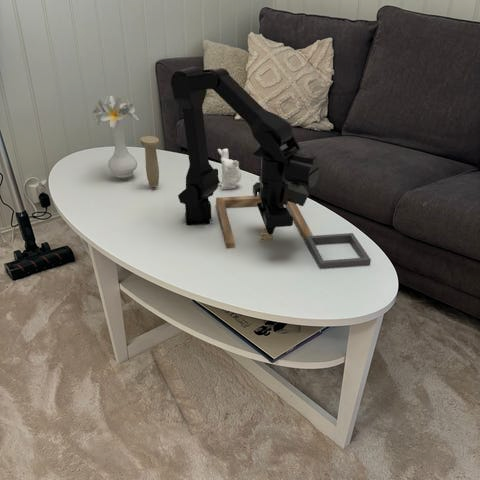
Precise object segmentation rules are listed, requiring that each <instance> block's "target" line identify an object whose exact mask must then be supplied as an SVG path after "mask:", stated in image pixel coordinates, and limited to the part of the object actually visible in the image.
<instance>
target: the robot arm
mask: <svg viewBox="0 0 480 480" xmlns="http://www.w3.org/2000/svg"><path fill="white" fill-rule="evenodd" d="M170 88H171V92H172V95H173V99H174V100H175V101H176V103H177V104H178V106H179V107H180V108H181V112H182V117H183V118H182V119H183V125H184V126H183V127H184V133H185V141H186V149H187V155H188V160H189V161H188V162H189V167H188V170H187V173H186V175H185V189H183V190H182V192H180V193H179V194H178V195H177V197H178V200H179V203H180V204H182V205H184V208H185V212H184V215H185V216H184V217H185V225H186V226H196V225H197V226H198V225H199V226H200V225H210V224H211V219H212V203H211V201H210V200H209V198H210V197H212V196H214V193H215V192H216V190H218V188H219V185H218V184H219V183H220V182H221V181H220V179H219V170H218V168H214V167H213V166H212V165H211V164H210V161H209V154H208V153H209V150H208V145H207V144H208V143H207V135H206V127H205V121H204V120H205V119H204V111H203V106H204V102H205V99H206V96H207V90H212V91H214V92H215V94H217V95H218V96H219V98H221V99H222V100H223V101H224V102H225V103H226V104H227V105H228V106H229V107H230V108H231V109H232V110H233V111H234V112H235V113H236V114H237V115H238V116H239V117H240V118H241V119H242V120H243V121H244V122H245V123H246V124H247V125H248V127H249V128H250V131H251V134H252V137H253V138H254V140H255V141H256V143H257V144H258V145H259V147H258V149H257V150H256V151H253V153H252V155H253V156H255V157H259V158H261V167H260V175H259V177H258V181H257V182H255V183H253V186H252V194H253V196H254V197H257V195H258V196H259V199H260V203H257V206H256V207H257V209H258V211H259V214H260V216H261V219H262V221H263V223H264V227H265V228H266V230H267V232H268V233H267V235H269V234H271V235H273V234H274V231H275V229H276V228H282V227H284V228H285V227H292V226H293V225H294V222H293V216H292V214H291V212H290V211H289V210H288V209H287V208H286V206H285V204H288V201H289V202H292V203H295V204H296V205H298V206H299V207H304V206H305V203H306V202H307V199H308V197H309V195H310V193H309V191H308V190H307V189H306V187H308V188H314V186H315V185H316V183H317V182H318V180H319V176H320V172H321V170H320V169H321V168H320V163H319V161H317V159H318V157H317V156H316V155H314V154H304V153H299V152H301V147H300V145H299V144H298V142H297V139H296V138H295V136H294V134H293V128H292V125H291V124H290V123H289V122H288V121H286V119H284V118H282V117H281V116H279V115H278V114H276V113H274V112H272V111H271V112H270V111H269V110H267V109H265V108H264V107H263V106H262V105H261V104H259V103H258V102H257V100H256V99H254V97H252V96H251V94H250V93H248V92H247V91H246V90H245V89H244V88H243V87H242V86H241V85H240V84H239V83H238V82H237V81H236V80H235V79H234V78H233V77H232V76H231V75H230V72H229V71H228V70H227V69H226V68H223V67H222V68H215V69H214V68H209V69H202V68H200V67H199V66H191V67H187V68H184V69H180V70H175V72H174V73H173V74H172V76H170ZM284 146H287V147H286V148H284V149H283V150H282V149H281V148H283V147H284ZM304 186H305V187H304Z"/></svg>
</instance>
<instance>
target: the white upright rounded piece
mask: <svg viewBox="0 0 480 480" xmlns="http://www.w3.org/2000/svg"><path fill="white" fill-rule="evenodd" d="M217 152H218V153H219V155H220V156H221V157H220V161H221V181H220V183H219V184H218V186H221V187H222V189H223V190H228V189H230V190H231V189H236V188H237V185H236V184H239V183H240V182H241V179H242V171H241V169H240V167H239V165H240V162H239V161H238V160H233V159H229V158H230V157H229V149H228V148H223V149H221V148H218V149H217Z"/></svg>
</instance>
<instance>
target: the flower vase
mask: <svg viewBox="0 0 480 480" xmlns="http://www.w3.org/2000/svg"><path fill="white" fill-rule="evenodd" d="M97 100H98V101H97V103H96V104H95V109H93V110H92V114H96V116H95V118H94V120H95V122H96V128H98V127H99V125H100V123H101V122H108V121H109V126H110V128H111V129H112V130H113V136H114V138H113V139H114V151H113V155H112V156H111V157H110V158H109V159H108V162H107V167H108V170H110V172H111V173H113V174H114V176H115V177H116V178H122V179H123V178H130V177H131V176H133V175H134V172H135V170H136V169H137V168H138V161H137V159H136V158H135V157H134V156H133V155H132V154H131V153H130V152H129V150H128V148H127V145H126V138H125V133H124V120H125V115H128V116H129V117H131V118H133V119H134V120H136V121H138V122H139V121H140V120H139V118H138V116H137V115H136V114H135V112H136V108H135V107H134V105H133V103H131V102H130V100H129V98H128V97H126V102H125V103H124V102H123V99H122V98H121V97H120V96H119V97H116V99H115V97H114V96H113V95H110V96H109V95H107V96H106V97H105V100H104V99H103V98H102V97H100V98H98V99H97ZM115 100H116V101H115Z"/></svg>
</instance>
